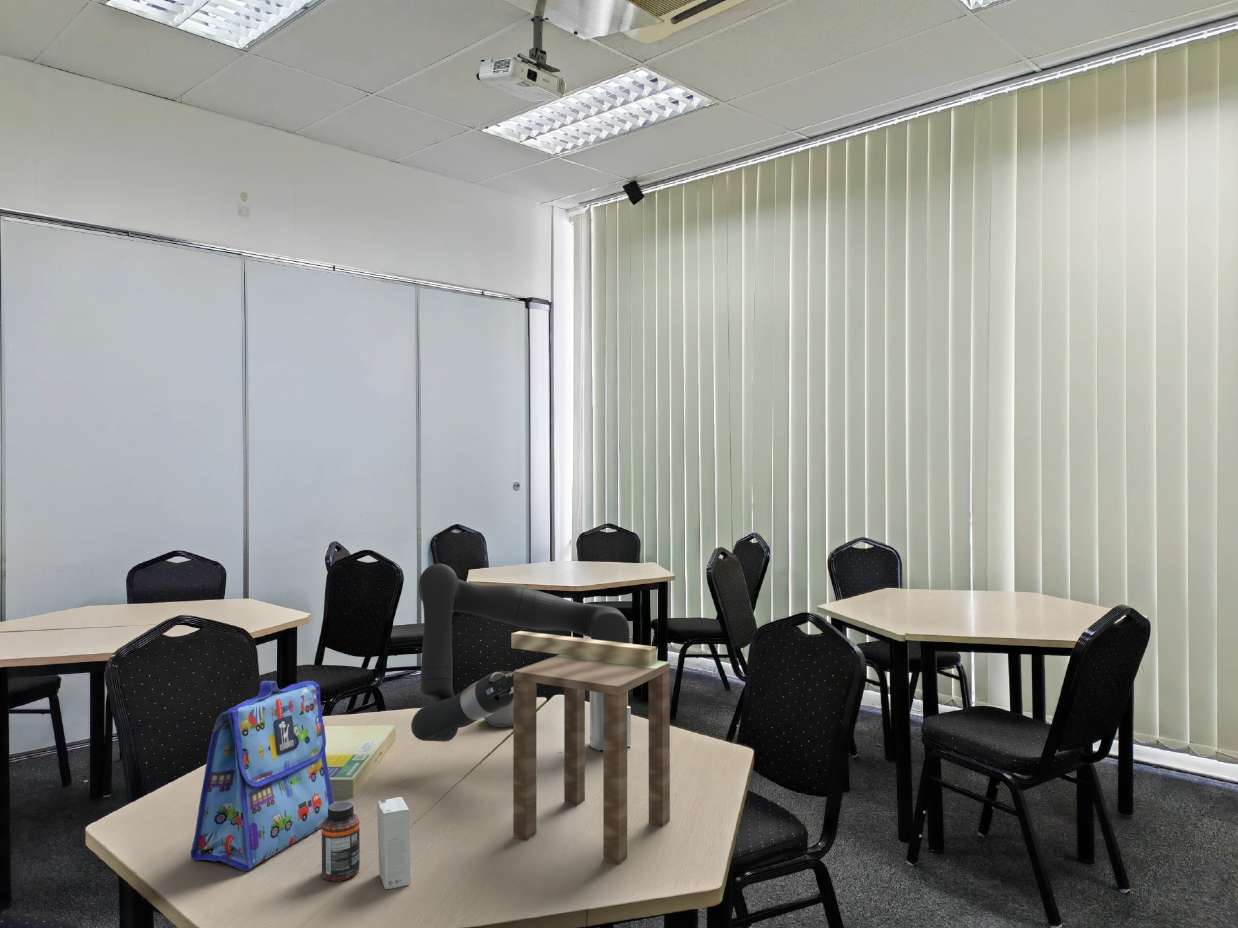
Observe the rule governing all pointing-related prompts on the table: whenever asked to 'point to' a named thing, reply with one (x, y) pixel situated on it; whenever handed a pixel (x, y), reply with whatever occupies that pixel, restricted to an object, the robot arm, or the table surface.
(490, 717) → the coffee pot
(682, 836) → the table surface
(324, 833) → the supplement bottle
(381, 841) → the skincare box
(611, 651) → the maple rod
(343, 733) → the puzzle box
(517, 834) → the walnut stand
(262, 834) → the lunch bag
